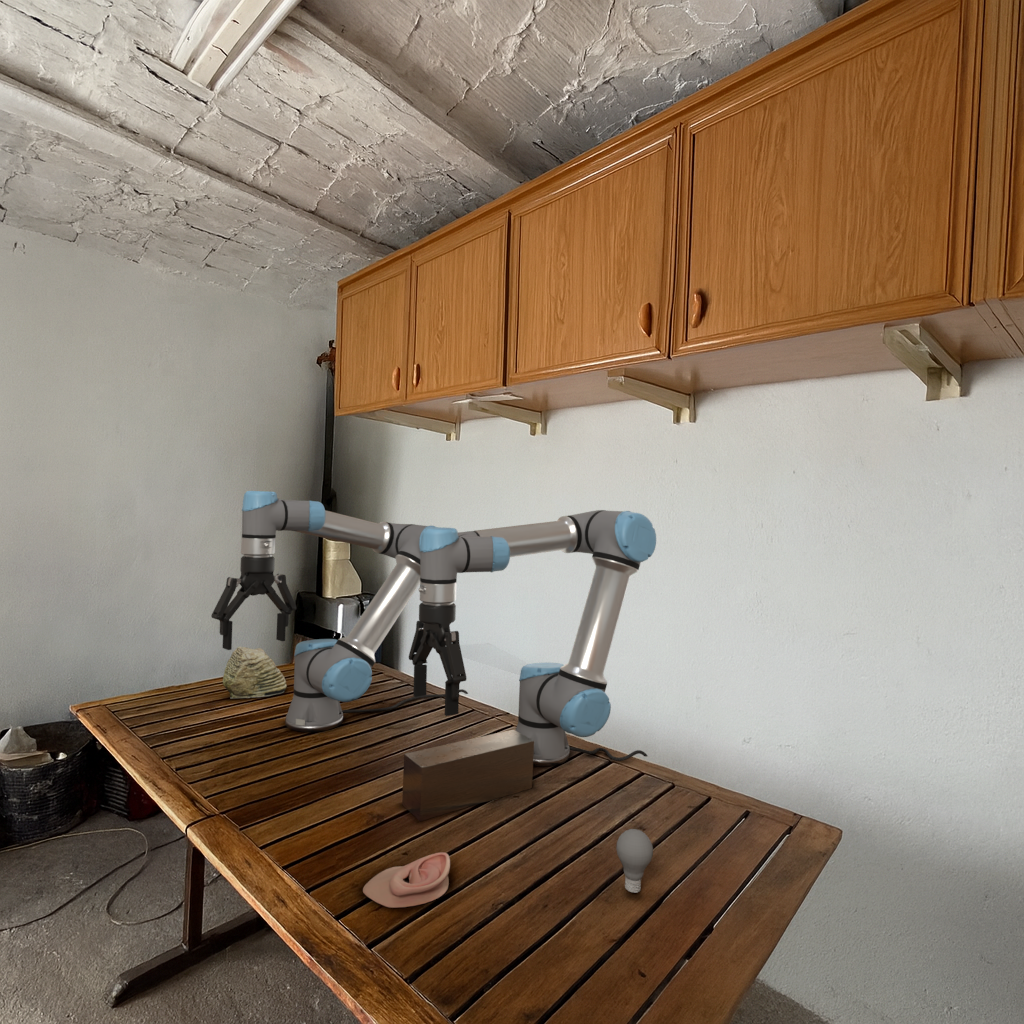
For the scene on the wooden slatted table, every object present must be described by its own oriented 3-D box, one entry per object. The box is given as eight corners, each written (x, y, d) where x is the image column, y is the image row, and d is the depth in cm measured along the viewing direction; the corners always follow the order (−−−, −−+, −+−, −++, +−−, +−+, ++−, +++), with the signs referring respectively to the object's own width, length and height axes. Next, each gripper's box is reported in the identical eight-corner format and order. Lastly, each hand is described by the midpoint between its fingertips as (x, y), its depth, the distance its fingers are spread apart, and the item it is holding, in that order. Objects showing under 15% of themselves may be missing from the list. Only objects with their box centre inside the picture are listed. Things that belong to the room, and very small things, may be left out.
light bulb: (610, 879, 108) (613, 822, 108) (644, 879, 109) (647, 822, 109) (619, 902, 102) (622, 840, 102) (655, 901, 103) (658, 840, 103)
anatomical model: (355, 876, 100) (384, 838, 111) (354, 901, 100) (383, 861, 111) (435, 890, 97) (457, 850, 108) (434, 916, 97) (456, 873, 108)
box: (511, 774, 148) (513, 729, 148) (532, 788, 142) (534, 740, 142) (401, 804, 132) (404, 753, 132) (419, 821, 125) (421, 767, 125)
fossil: (218, 695, 195) (220, 647, 195) (278, 685, 208) (279, 640, 207) (228, 703, 189) (230, 653, 188) (289, 692, 201) (290, 645, 201)
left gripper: (213, 559, 139) (210, 656, 139) (312, 554, 158) (309, 639, 158) (197, 556, 143) (194, 649, 144) (295, 552, 163) (292, 634, 163)
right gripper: (394, 594, 138) (392, 691, 139) (452, 614, 118) (449, 727, 119) (425, 592, 143) (423, 686, 143) (486, 611, 122) (482, 719, 123)
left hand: (254, 644), depth 151 cm, fingers open, 13 cm apart
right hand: (434, 704), depth 131 cm, fingers open, 13 cm apart
